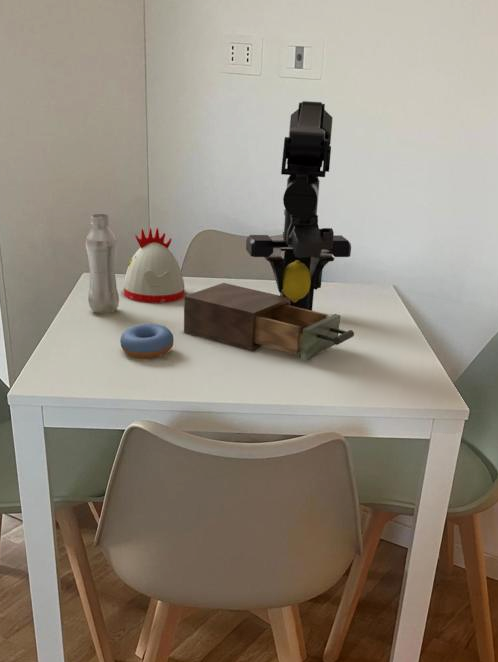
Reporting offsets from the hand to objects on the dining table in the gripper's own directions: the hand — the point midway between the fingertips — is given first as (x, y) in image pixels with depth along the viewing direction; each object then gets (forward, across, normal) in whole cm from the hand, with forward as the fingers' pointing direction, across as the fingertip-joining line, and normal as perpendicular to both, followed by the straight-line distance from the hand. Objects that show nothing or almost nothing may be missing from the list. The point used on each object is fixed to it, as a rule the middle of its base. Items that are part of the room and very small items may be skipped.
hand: (295, 292), depth 152 cm
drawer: (+10, +1, -1) cm, 10 cm away
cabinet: (+11, -9, +10) cm, 18 cm away
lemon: (+2, 0, 0) cm, 2 cm away
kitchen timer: (+12, -23, +39) cm, 47 cm away
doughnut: (+11, -28, 0) cm, 30 cm away
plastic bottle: (+12, -35, +26) cm, 45 cm away
